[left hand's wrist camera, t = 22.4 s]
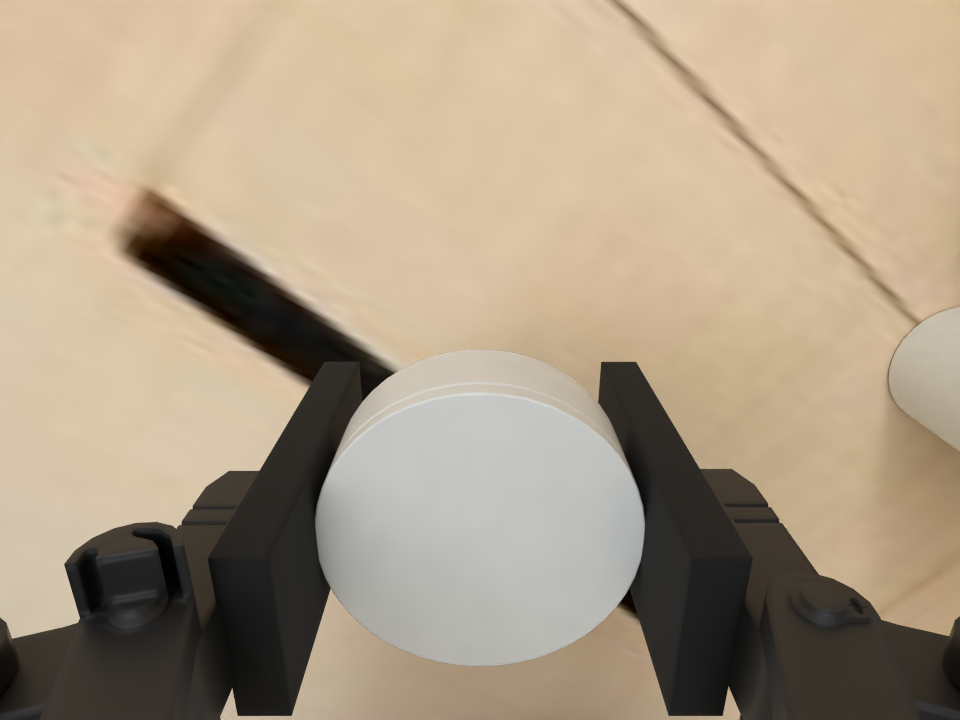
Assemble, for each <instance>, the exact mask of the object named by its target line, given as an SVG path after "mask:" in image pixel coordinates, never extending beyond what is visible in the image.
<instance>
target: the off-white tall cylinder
mask: <svg viewBox="0 0 960 720" xmlns="http://www.w3.org/2000/svg"><path fill="white" fill-rule="evenodd" d="M889 388H890V392H891V395H892V397H893V399H894V401H895V403H896V404H897V405H898V406H899V408H900V409H902V410H903V411H904V412H905V413H906V414H908V415H909V416H911V417H912V418H913V419H915V420H916V421H918V422H919V423H920V424H922V425H923V426H924V427H926V428H927V429H929V430H930V431H931V432H933V433H934V434H936V435H937V436H938V437H940V438H941V439H943V440H944V441H945V442H947V443H948V444H950V445H951V446H952V447H954V448H955V449H957V450H958V451H959V452H960V307H955V308H951V309H947V310H944V311H942V312H939V313H937V314H935V315H933V316H931V317H929V318H928V319H926V320H924V321H923V322H921V323H920V324H919V325H917V326H916V327H915V328H914V329H913V330H912V331H911V332H910V333H909V334H908V335H907V336H906V337H905V338H904V340H903V341H902V342H901V344H900V345H899V347H898V348H897V350H896V352H895V354H894V356H893V359H892V361H891V365H890V369H889Z"/></svg>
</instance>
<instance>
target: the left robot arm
mask: <svg viewBox="0 0 960 720" xmlns="http://www.w3.org/2000/svg"><path fill="white" fill-rule="evenodd" d="M361 403H362V395H361V381H360V368H359V362H324V364H323V365H322V367H321V369H320V370H319V372H318V374H317V376H316V377H315V379H314V381H313V382H312V384H311V386H310V387H309V389H308V391H307V392H306V394H305V396H304V397H303V399H302V401H301V402H300V404H299V406H298V407H297V409H296V411H295V412H294V414H293V416H292V417H291V419H290V421H289V422H288V424H287V426H286V427H285V429H284V431H283V433H282V434H281V436H280V438H279V439H278V441H277V443H276V444H275V446H274V448H273V449H272V451H271V453H270V454H269V456H268V458H267V459H266V461H265V463H264V464H263V466H262V468H261V469H260V471H228V472H227V473H226V474H224V475H223V476H221V477H220V478H218V479H217V480H216V481H214V482H213V483H211V484H210V485H208V486H207V487H206V488H205V489H204V491H203V492H202V494H201V495H200V496H199V498H198V499H197V501H196V502H195V503H194V505H193V509H192V510H189V512H188V513H187V515H186V516H185V518H184V519H183V520H182V525H179V526H178V527H177V529H176V528H174V527H173V526H171V525H166V524H162V523H158V522H149V523H134V524H130V525H126V526H122V527H118V528H114V529H112V530H110V531H107V532H105V533H103V534H101V535H98V536H96V537H94V538H92V539H91V540H89V541H88V542H86V543H85V544H83V545H82V546H81V547H79V548H78V549H76V550H75V551H74V552H73V554H72V555H71V556H70V558H69V559H68V560H67V561H66V563H65V564H64V565H65V569H66V572H67V575H68V579H69V582H70V585H71V589H72V592H73V596H74V599H75V602H76V606H77V609H78V613H79V616H80V620H79V622H78V623H76V624H73V625H70V626H66V627H63V628H58V629H54V630H49V631H45V632H41V633H36V634H32V635H27V636H23V637H18V638H14V639H12V638H11V635H10V632H9V629H8V626H7V623H6V622H5V621H4V620H2V619H1V618H0V720H220V716H221V713H222V711H223V708H224V706H225V704H226V701H227V699H228V697H229V694H230V692H231V690H232V688H233V693H234V698H235V704H236V709H237V714H238V716H292V713H293V710H294V706H295V703H296V700H297V696H298V693H299V690H300V687H301V683H302V680H303V677H304V674H305V670H306V667H307V664H308V661H309V657H310V654H311V651H312V648H313V644H314V641H315V638H316V635H317V631H318V628H319V625H320V621H321V618H322V615H323V612H324V608H325V605H326V602H327V599H328V595H329V592H330V589H331V588H330V586H329V584H328V582H327V580H326V578H325V576H324V573H323V570H322V568H321V565H320V562H319V555H318V547H317V538H316V529H315V515H316V507H317V502H318V499H319V496H320V492H321V489H322V486H323V484H324V481H325V479H326V476H327V474H328V471H329V469H330V466H331V464H332V462H333V459H334V457H335V454H336V452H337V449H338V447H339V445H340V442H341V440H342V437H343V435H344V433H345V430H346V428H347V426H348V424H349V422H350V420H351V418H352V416H353V415H354V413H355V412H356V410H357V409H358V407H359V406H360V404H361ZM598 403H599V405H600V406H601V408H602V409H603V411H604V412H605V414H606V415H607V417H608V418H609V420H610V422H611V424H612V426H613V429H614V431H615V433H616V435H617V438H618V440H619V443H620V445H621V447H622V450H623V452H624V455H625V457H626V460H627V462H628V465H629V467H630V469H631V472H632V474H633V477H634V479H635V482H636V484H637V487H638V490H639V493H640V497H641V500H642V503H643V509H644V517H645V533H644V542H643V550H642V558H641V562H640V564H639V567H638V570H637V573H636V576H635V578H634V580H633V582H632V584H631V585H630V587H629V588H630V591H631V594H632V597H633V601H634V604H635V607H636V610H637V614H638V617H639V620H640V623H641V627H642V630H643V633H644V636H645V640H646V643H647V646H648V649H649V653H650V656H651V659H652V663H653V666H654V669H655V672H656V676H657V679H658V682H659V685H660V689H661V692H662V695H663V698H664V702H665V705H666V708H667V711H668V715H669V716H723V711H724V706H725V701H726V695H727V690H728V685H729V688H730V690H731V692H732V695H733V697H734V699H735V702H736V704H737V707H738V709H739V711H740V714H741V715H740V720H960V617H958V618H957V619H956V620H955V622H954V625H953V628H952V631H951V633H950V636H945V635H941V634H936V633H932V632H927V631H923V630H919V629H914V628H910V627H905V626H901V625H897V624H893V623H890V622H887V621H883V620H881V619H880V617H879V615H878V614H877V612H876V611H875V609H874V608H873V606H872V605H871V603H870V602H869V601H868V600H866V599H865V598H864V597H863V596H861V595H860V594H859V593H858V592H856V591H855V590H854V589H852V588H850V587H848V586H846V585H844V584H842V583H840V582H838V581H836V580H834V579H832V578H828V577H824V576H821V575H819V574H818V573H817V571H816V570H815V569H814V567H813V566H812V564H811V563H810V562H809V560H808V559H807V557H806V556H805V555H804V553H803V552H802V550H801V549H800V548H799V546H798V545H797V543H796V542H795V541H794V539H793V538H792V537H791V535H790V534H789V532H788V531H787V530H786V528H785V527H784V525H783V524H782V523H779V518H778V517H777V516H776V514H775V513H774V511H773V510H772V509H771V507H768V503H767V502H766V500H765V499H764V497H763V496H762V495H761V493H760V492H759V490H758V489H757V488H756V486H755V485H754V484H752V483H751V482H750V481H748V480H747V479H745V478H744V477H742V476H741V475H740V474H738V473H737V472H735V471H734V470H732V469H699V467H698V465H697V464H696V462H695V460H694V459H693V457H692V455H691V454H690V452H689V450H688V449H687V447H686V445H685V444H684V442H683V440H682V439H681V437H680V435H679V433H678V432H677V430H676V428H675V427H674V425H673V423H672V422H671V420H670V418H669V417H668V415H667V413H666V412H665V410H664V408H663V407H662V405H661V403H660V402H659V400H658V398H657V397H656V395H655V393H654V392H653V390H652V388H651V387H650V385H649V383H648V381H647V380H646V378H645V376H644V375H643V373H642V371H641V370H640V368H639V366H638V365H637V363H636V362H601V374H600V387H599V400H598Z"/></svg>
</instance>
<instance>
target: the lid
mask: <svg viewBox="0 0 960 720" xmlns="http://www.w3.org/2000/svg"><path fill="white" fill-rule="evenodd" d="M315 529H316V538H317V547H318V555H319V562H320V565H321V568H322V570H323V573H324V576H325V578H326V580H327V582H328V584H329V586H330V588H331V589H332V591H333V593H334V594H335V596H336V597H337V599H338V600H339V601H340V603H341V604H342V605H343V607H344V608H345V609H346V610H347V611H348V612H349V613H350V614H351V615H352V616H353V617H354V619H355V620H356V621H358V622H359V623H360V624H361V625H362V626H364V627H365V628H366V629H367V630H369V631H370V632H371V633H373V634H374V635H376V636H377V637H379V638H380V639H382V640H383V641H385V642H387V643H389V644H391V645H393V646H395V647H397V648H399V649H401V650H403V651H405V652H408V653H411V654H413V655H416V656H419V657H421V658H425V659H429V660H433V661H437V662H441V663H447V664H454V665H462V666H499V665H506V664H513V663H519V662H523V661H527V660H531V659H535V658H539V657H541V656H544V655H547V654H549V653H552V652H555V651H557V650H559V649H561V648H563V647H565V646H567V645H569V644H571V643H573V642H575V641H576V640H578V639H580V638H581V637H583V636H584V635H586V634H587V633H589V632H590V631H591V630H593V629H594V628H595V627H596V626H597V625H599V624H600V623H601V622H602V621H603V620H604V619H605V618H606V617H607V616H608V615H609V614H610V613H611V612H612V611H613V610H614V609H615V608H616V607H617V605H618V604H619V602H620V601H621V600H622V598H623V597H624V596H625V594H626V593H627V591H628V589H629V587H630V585H631V584H632V582H633V580H634V578H635V576H636V573H637V570H638V567H639V564H640V562H641V558H642V550H643V542H644V533H645V517H644V509H643V503H642V500H641V497H640V493H639V490H638V487H637V484H636V482H635V479H634V477H633V474H632V472H631V469H630V467H629V465H628V462H627V460H626V457H625V455H624V452H623V450H622V447H621V445H620V443H619V440H618V438H617V435H616V433H615V431H614V429H613V426H612V424H611V422H610V420H609V418H608V417H607V415H606V414H605V412H604V411H603V409H602V408H601V406H600V405H599V403H598V402H597V401H596V400H595V399H594V398H593V397H592V396H591V394H590V393H589V392H588V391H587V390H586V389H585V388H583V387H582V386H581V385H580V384H579V383H577V382H576V381H575V380H574V379H573V378H571V377H569V376H568V375H566V374H565V373H563V372H562V371H560V370H558V369H557V368H555V367H553V366H550V365H548V364H546V363H544V362H542V361H540V360H537V359H534V358H531V357H527V356H524V355H521V354H517V353H511V352H506V351H501V350H485V349H475V350H459V351H454V352H449V353H443V354H439V355H435V356H432V357H429V358H426V359H423V360H420V361H418V362H416V363H414V364H412V365H409V366H407V367H405V368H403V369H401V370H400V371H398V372H397V373H395V374H394V375H392V376H390V377H389V378H387V379H386V380H385V381H384V382H382V383H381V384H380V385H379V386H378V387H376V388H375V389H374V390H373V391H372V392H371V393H370V394H369V395H368V397H367V398H366V399H365V400H364V401H363V402H362V403H361V404H360V406H359V407H358V409H357V410H356V412H355V413H354V415H353V416H352V418H351V420H350V422H349V424H348V426H347V428H346V430H345V433H344V435H343V437H342V440H341V442H340V445H339V447H338V449H337V452H336V454H335V457H334V459H333V462H332V464H331V466H330V469H329V471H328V474H327V476H326V479H325V481H324V484H323V486H322V489H321V492H320V496H319V499H318V502H317V507H316V515H315Z"/></svg>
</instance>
